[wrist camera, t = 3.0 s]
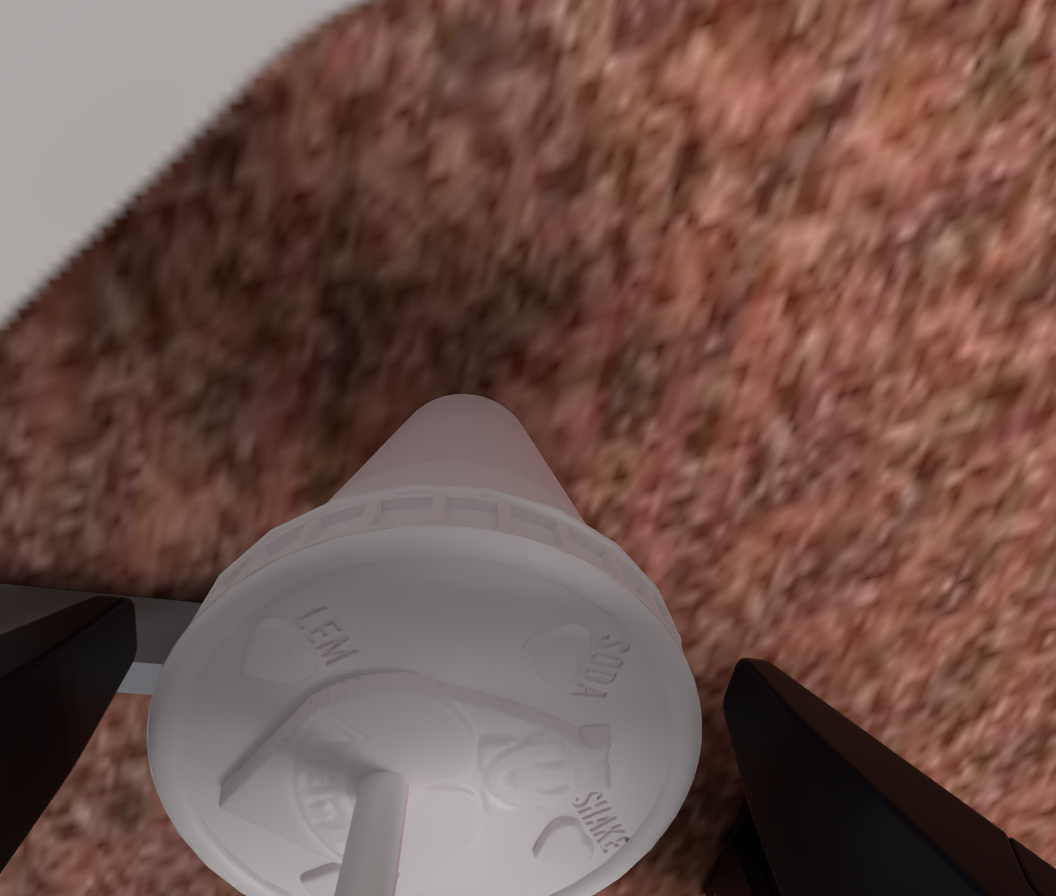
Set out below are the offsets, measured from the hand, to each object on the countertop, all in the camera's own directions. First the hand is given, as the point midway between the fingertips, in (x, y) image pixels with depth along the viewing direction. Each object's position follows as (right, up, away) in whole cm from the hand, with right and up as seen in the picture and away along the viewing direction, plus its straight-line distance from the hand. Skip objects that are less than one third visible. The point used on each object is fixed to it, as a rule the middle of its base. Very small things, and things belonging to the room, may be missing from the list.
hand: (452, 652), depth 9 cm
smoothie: (-1, +3, +7) cm, 8 cm away
